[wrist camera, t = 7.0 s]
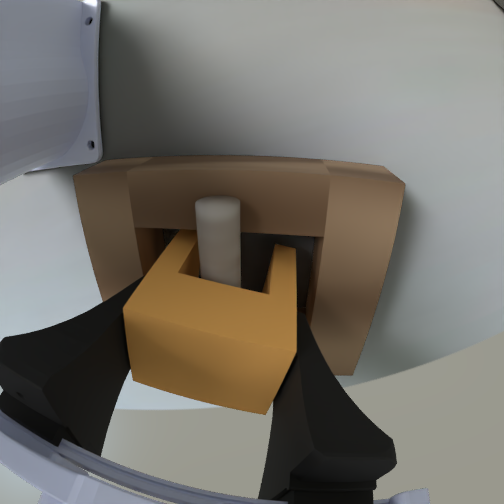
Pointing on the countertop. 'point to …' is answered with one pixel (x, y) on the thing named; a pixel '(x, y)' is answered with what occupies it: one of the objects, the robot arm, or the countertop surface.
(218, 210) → the square wooden frame
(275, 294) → the orange notched block
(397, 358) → the countertop surface
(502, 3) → the travel mug
